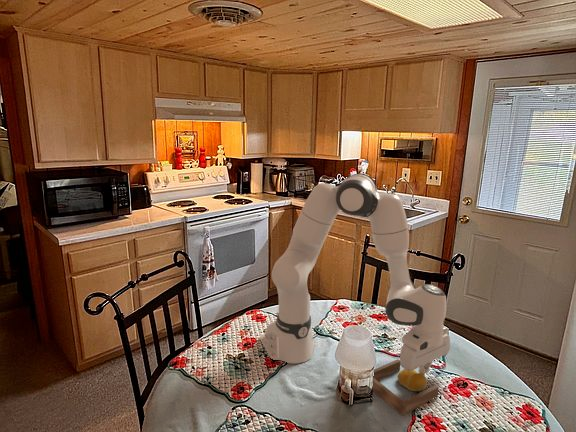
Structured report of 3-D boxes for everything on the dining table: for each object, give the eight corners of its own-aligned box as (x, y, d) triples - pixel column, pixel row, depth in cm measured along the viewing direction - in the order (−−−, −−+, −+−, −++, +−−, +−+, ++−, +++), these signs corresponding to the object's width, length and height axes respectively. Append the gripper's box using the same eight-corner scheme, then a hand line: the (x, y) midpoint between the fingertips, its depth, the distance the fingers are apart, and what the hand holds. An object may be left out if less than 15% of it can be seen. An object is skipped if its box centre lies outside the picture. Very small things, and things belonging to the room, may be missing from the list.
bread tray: (363, 383, 126) (364, 373, 125) (397, 368, 133) (397, 359, 132) (402, 415, 112) (403, 405, 111) (437, 396, 120) (438, 387, 119)
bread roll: (418, 396, 120) (419, 385, 119) (393, 381, 126) (394, 371, 125) (432, 385, 125) (433, 374, 124) (408, 371, 132) (409, 361, 131)
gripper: (440, 321, 133) (436, 357, 136) (398, 338, 122) (394, 377, 125) (457, 330, 127) (452, 367, 131) (414, 348, 117) (410, 388, 120)
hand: (423, 372), depth 128 cm, fingers closed
